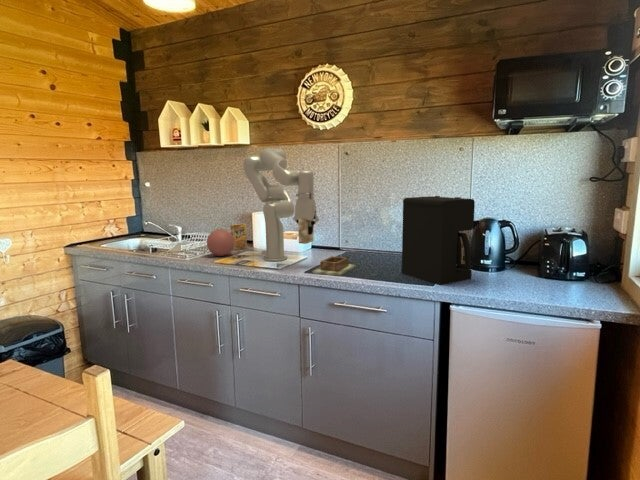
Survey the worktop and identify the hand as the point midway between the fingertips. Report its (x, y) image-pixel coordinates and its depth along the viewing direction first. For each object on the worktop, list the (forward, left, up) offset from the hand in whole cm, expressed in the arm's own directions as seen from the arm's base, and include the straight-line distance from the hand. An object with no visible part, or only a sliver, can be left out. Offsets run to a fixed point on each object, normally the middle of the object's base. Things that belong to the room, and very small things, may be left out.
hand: (306, 233), depth 204 cm
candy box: (-63, +28, -17) cm, 71 cm away
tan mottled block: (0, 0, -4) cm, 4 cm away
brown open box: (+15, 0, -17) cm, 23 cm away
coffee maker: (+63, +6, -17) cm, 66 cm away
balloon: (-59, +8, -17) cm, 61 cm away
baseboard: (-99, +15, -18) cm, 102 cm away
